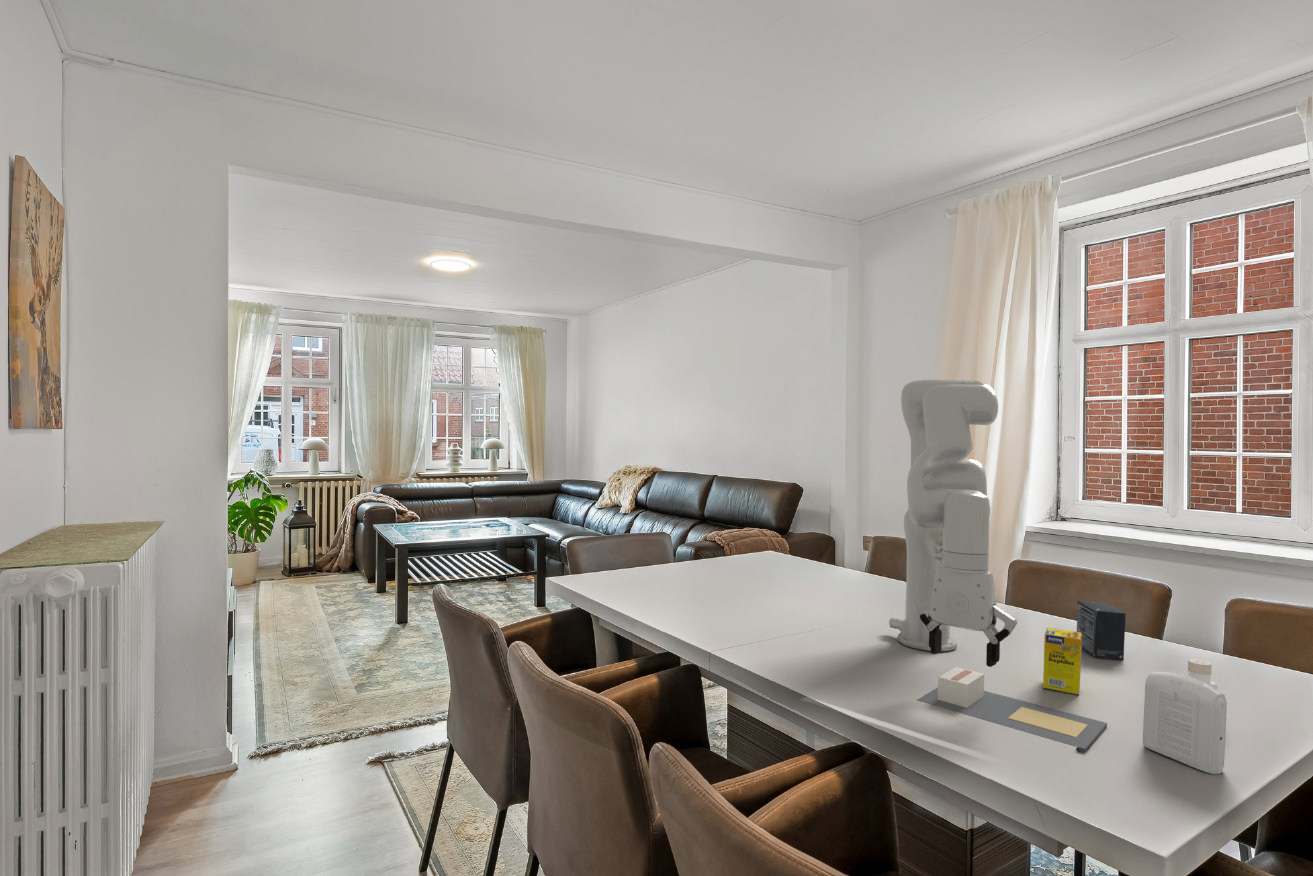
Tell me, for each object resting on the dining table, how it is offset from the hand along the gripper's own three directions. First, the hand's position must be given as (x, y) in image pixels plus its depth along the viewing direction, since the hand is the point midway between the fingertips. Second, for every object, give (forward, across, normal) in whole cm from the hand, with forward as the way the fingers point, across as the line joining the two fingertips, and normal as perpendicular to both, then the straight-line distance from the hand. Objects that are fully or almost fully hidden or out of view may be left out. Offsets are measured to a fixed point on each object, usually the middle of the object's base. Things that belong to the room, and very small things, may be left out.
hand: (963, 658), depth 124 cm
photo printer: (+8, +31, +2) cm, 32 cm away
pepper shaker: (+8, +30, +25) cm, 40 cm away
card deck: (+7, 0, +1) cm, 7 cm away
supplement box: (+8, +10, +21) cm, 25 cm away
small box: (+7, +10, +55) cm, 56 cm away
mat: (+8, +8, +1) cm, 11 cm away
